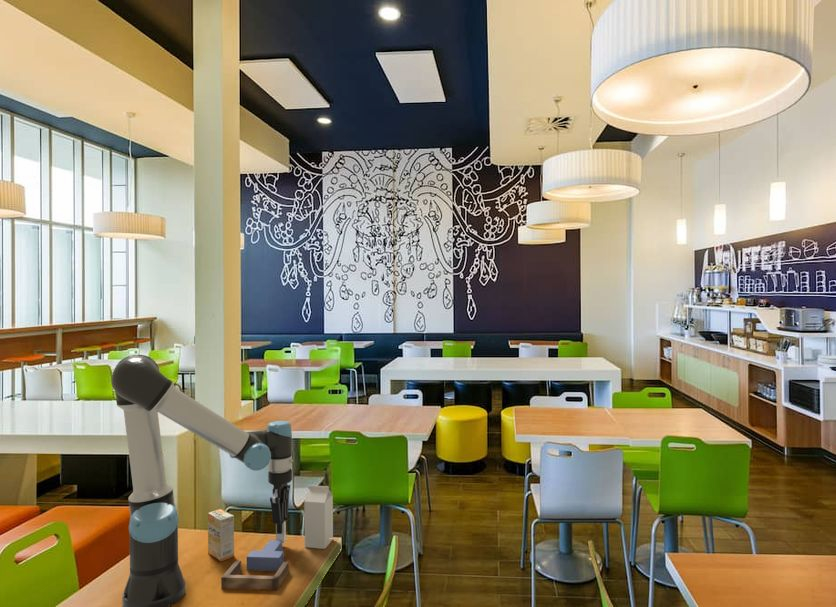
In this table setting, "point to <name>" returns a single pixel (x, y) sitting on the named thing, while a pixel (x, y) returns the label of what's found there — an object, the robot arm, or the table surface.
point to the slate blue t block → (266, 557)
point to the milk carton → (318, 517)
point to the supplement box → (221, 534)
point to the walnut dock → (253, 578)
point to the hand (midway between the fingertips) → (280, 541)
